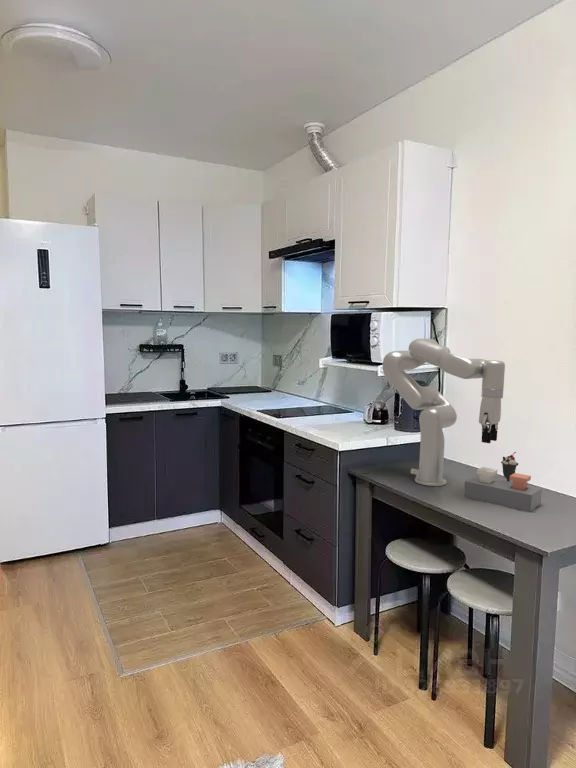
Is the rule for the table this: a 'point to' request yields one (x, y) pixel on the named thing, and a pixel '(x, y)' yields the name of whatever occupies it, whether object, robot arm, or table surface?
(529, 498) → the block
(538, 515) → the table surface
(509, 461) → the sundae
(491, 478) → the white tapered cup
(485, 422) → the robot arm
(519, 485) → the pink block
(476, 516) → the table surface
